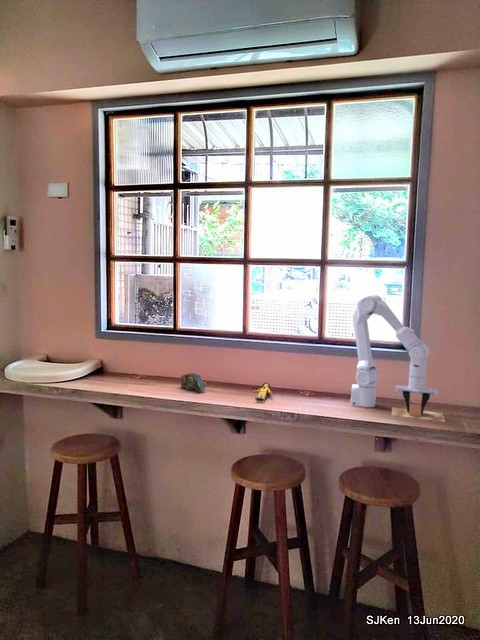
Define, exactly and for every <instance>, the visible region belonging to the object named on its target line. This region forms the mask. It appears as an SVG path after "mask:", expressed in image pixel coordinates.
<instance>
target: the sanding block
mask: <svg viewBox="0 0 480 640" xmlns="http://www.w3.org/2000/svg"><path fill="white" fill-rule="evenodd" d="M421 403H422V401H419V400H418V401H417V400H410V401H409V415H412V416H421V407H422V405H421Z"/></svg>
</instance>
